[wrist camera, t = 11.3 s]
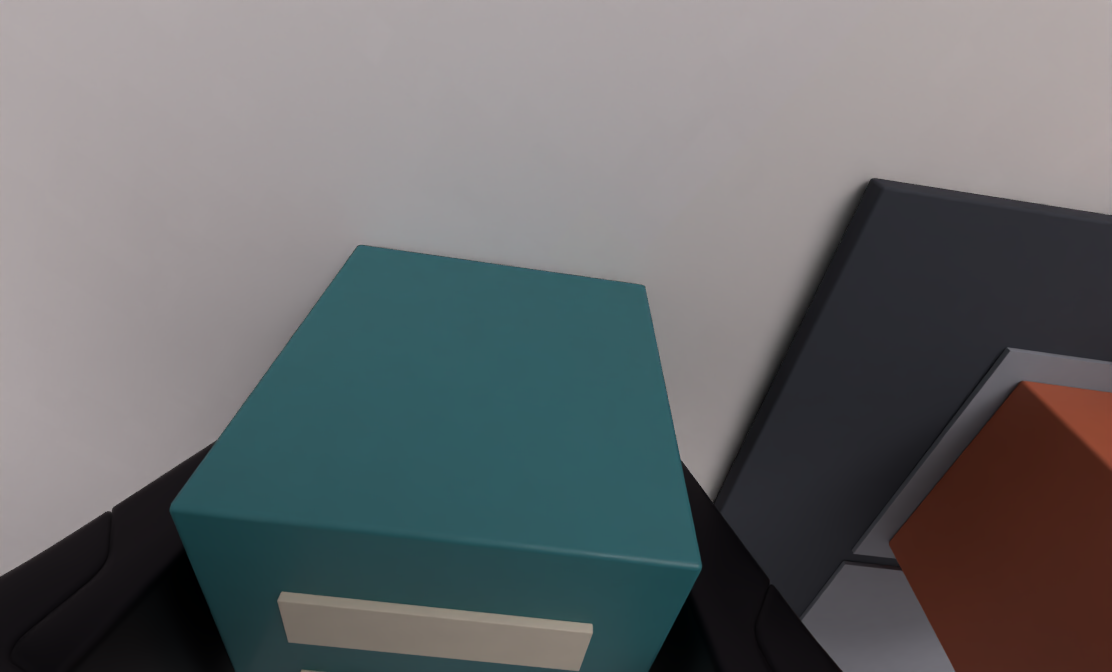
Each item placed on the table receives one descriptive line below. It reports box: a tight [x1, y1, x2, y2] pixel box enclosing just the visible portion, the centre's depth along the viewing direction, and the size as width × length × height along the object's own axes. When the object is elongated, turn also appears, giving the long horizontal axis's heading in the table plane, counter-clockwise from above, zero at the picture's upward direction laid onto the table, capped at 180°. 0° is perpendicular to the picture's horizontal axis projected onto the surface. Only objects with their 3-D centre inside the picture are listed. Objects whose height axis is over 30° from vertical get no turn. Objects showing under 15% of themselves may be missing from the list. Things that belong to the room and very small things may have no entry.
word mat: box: [714, 178, 1112, 672], centre depth 14 cm, size 12×22×1 cm, turn 172°
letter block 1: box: [170, 245, 702, 672], centre depth 8 cm, size 5×5×5 cm
